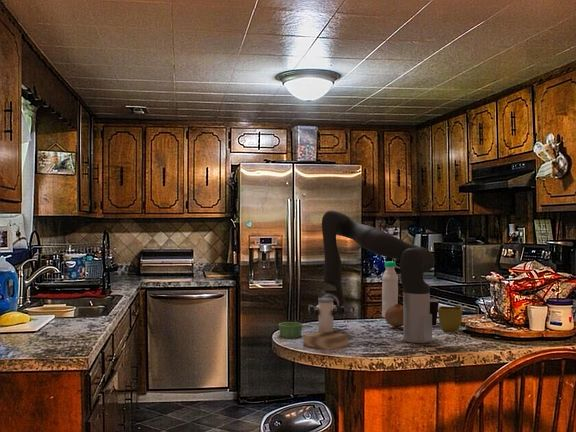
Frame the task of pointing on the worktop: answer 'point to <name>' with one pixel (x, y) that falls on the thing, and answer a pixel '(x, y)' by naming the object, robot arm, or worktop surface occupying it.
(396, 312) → the onion
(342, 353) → the worktop surface
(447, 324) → the flower pot
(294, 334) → the ramekin
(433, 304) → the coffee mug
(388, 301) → the water bottle
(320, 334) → the base block
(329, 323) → the canister
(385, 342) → the worktop surface
